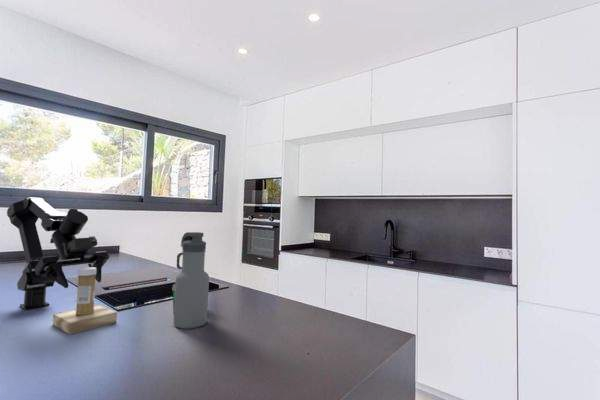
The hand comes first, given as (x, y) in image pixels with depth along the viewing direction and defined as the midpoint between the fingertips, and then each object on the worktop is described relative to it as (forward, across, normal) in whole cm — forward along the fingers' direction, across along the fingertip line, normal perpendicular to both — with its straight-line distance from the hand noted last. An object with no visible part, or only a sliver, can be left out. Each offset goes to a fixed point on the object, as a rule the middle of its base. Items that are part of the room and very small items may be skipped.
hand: (84, 284), depth 94 cm
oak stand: (+9, 0, +7) cm, 11 cm away
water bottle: (+28, +16, -12) cm, 34 cm away
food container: (+20, +26, -4) cm, 33 cm away
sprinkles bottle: (+7, 0, +5) cm, 9 cm away
